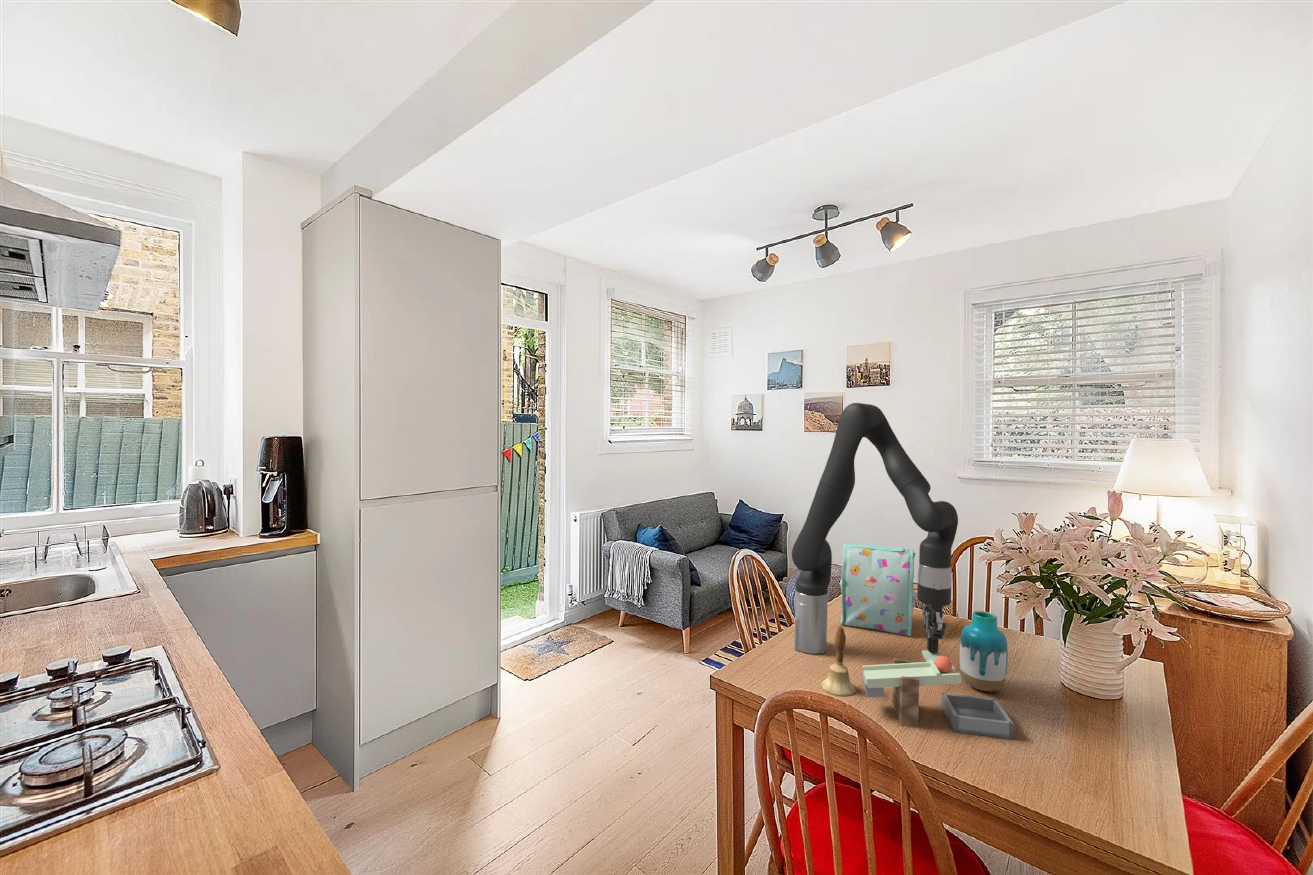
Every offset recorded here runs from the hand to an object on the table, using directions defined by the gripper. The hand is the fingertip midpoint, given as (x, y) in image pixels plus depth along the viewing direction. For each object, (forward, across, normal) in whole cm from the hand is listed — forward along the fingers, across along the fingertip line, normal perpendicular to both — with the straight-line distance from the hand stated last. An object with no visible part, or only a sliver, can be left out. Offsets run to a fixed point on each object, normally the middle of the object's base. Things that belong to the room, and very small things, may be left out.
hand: (932, 651), depth 137 cm
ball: (-1, +10, 0) cm, 10 cm away
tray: (+12, +10, +7) cm, 17 cm away
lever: (+5, +6, -7) cm, 10 cm away
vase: (+12, -8, +14) cm, 20 cm away
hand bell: (+12, +1, -22) cm, 25 cm away
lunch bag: (+12, -46, -6) cm, 48 cm away
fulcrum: (+11, +10, -8) cm, 17 cm away
